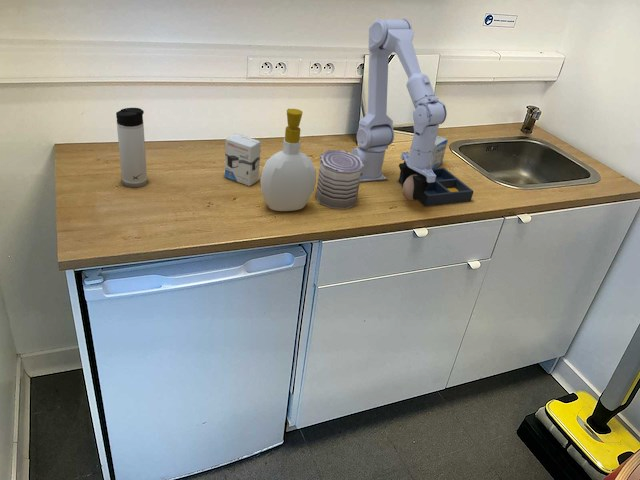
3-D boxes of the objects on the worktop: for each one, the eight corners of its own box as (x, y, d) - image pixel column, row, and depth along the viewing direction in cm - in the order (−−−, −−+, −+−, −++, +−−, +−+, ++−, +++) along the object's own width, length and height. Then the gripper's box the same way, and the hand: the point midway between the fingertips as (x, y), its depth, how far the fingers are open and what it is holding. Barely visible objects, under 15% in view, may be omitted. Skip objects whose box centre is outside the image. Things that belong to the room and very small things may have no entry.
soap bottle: (307, 196, 148) (317, 103, 134) (316, 213, 141) (328, 117, 127) (254, 199, 143) (260, 103, 129) (262, 216, 136) (268, 117, 122)
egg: (419, 205, 147) (425, 181, 143) (400, 202, 147) (405, 177, 143) (419, 196, 151) (425, 172, 147) (400, 193, 152) (406, 169, 148)
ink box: (223, 177, 152) (224, 138, 145) (234, 171, 155) (235, 132, 149) (249, 186, 149) (251, 146, 142) (259, 180, 152) (261, 141, 146)
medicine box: (431, 171, 171) (437, 145, 166) (418, 166, 173) (424, 140, 168) (442, 164, 176) (448, 139, 172) (430, 159, 178) (436, 134, 174)
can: (347, 187, 155) (353, 148, 148) (363, 207, 146) (371, 167, 140) (309, 190, 151) (314, 150, 144) (324, 211, 142) (330, 169, 135)
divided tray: (425, 206, 150) (428, 195, 149) (398, 181, 162) (400, 171, 160) (470, 201, 156) (473, 191, 155) (441, 177, 168) (443, 167, 166)
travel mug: (141, 189, 141) (136, 115, 130) (117, 185, 141) (110, 110, 131) (152, 179, 146) (148, 107, 135) (129, 175, 147) (123, 103, 136)
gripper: (450, 158, 137) (438, 205, 144) (420, 136, 148) (410, 180, 155) (426, 160, 134) (415, 208, 142) (398, 137, 145) (388, 182, 153)
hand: (411, 194), depth 148 cm, fingers closed on egg, 5 cm apart
